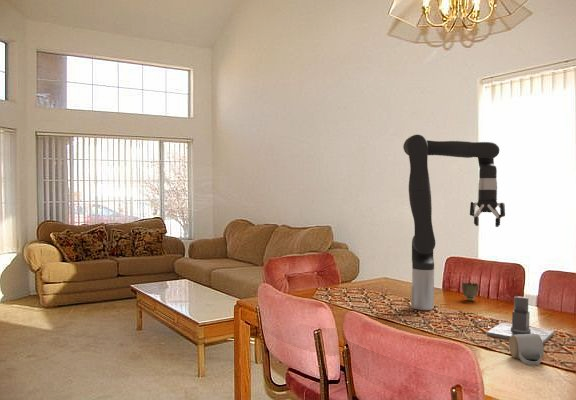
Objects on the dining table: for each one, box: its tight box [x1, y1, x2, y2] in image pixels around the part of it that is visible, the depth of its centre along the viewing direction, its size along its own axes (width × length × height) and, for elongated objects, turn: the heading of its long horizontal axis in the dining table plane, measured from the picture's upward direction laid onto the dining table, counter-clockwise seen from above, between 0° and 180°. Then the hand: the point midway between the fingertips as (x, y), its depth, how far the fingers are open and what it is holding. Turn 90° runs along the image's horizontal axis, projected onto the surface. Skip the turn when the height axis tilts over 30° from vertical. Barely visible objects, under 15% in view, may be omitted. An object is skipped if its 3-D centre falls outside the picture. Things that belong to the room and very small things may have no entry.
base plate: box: [486, 322, 555, 345], centre depth 183 cm, size 18×18×5 cm
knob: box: [511, 296, 530, 331], centre depth 183 cm, size 5×5×11 cm
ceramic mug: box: [508, 334, 545, 367], centre depth 155 cm, size 11×8×8 cm
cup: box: [461, 281, 479, 302], centre depth 241 cm, size 8×7×8 cm
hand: (486, 226), depth 223 cm, fingers open, 8 cm apart
